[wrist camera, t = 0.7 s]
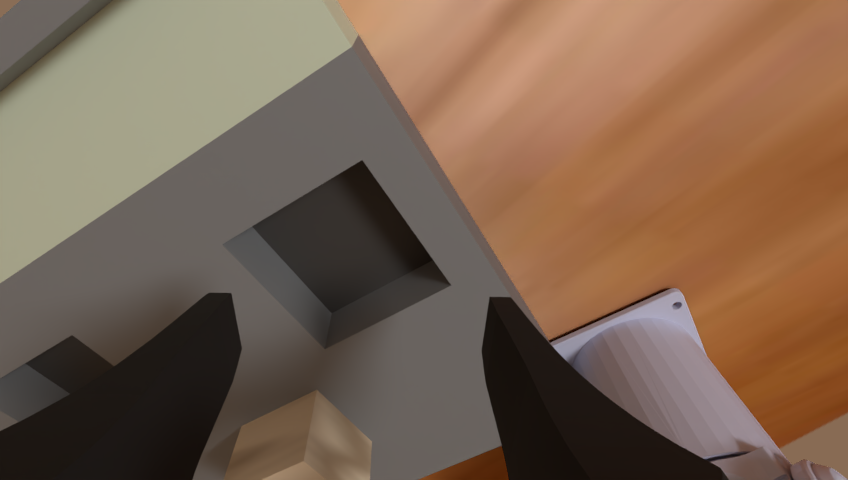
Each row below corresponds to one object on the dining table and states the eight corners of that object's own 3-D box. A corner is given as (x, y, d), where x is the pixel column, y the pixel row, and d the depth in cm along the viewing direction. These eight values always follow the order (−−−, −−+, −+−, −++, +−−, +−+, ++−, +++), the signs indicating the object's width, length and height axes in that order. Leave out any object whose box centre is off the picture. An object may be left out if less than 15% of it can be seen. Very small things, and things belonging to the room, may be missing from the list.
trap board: (567, 371, 29) (594, 435, 25) (226, 518, 35) (205, 587, 31) (254, -133, 16) (208, -163, 12) (-200, 241, 22) (-328, 301, 18)
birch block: (371, 441, 26) (368, 513, 23) (300, 472, 28) (286, 545, 24) (316, 389, 24) (303, 460, 21) (241, 426, 25) (216, 499, 22)
